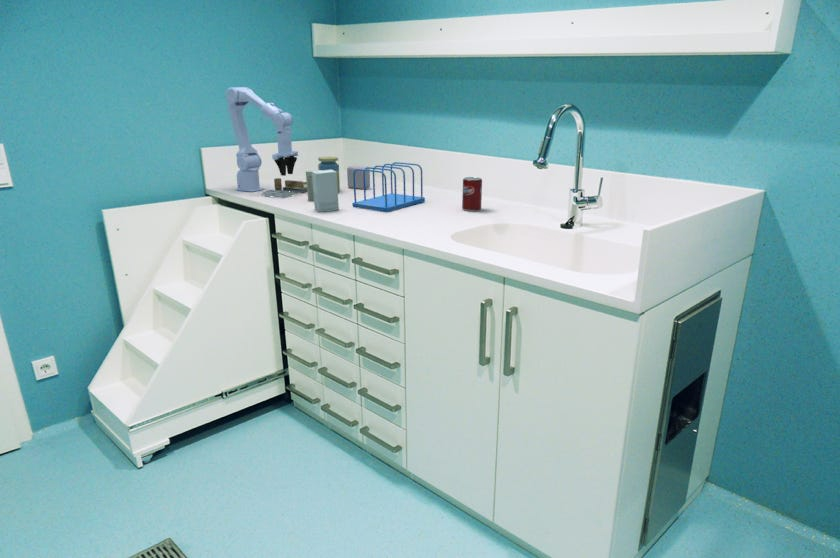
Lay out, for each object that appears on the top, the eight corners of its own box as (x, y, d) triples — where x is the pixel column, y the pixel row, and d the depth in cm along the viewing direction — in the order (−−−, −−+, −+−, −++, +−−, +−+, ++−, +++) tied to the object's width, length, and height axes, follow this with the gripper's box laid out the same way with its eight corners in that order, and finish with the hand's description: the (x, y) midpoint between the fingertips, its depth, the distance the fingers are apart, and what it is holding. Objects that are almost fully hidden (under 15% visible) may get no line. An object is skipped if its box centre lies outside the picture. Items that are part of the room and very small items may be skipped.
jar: (332, 189, 266) (331, 156, 261) (344, 192, 259) (342, 157, 254) (315, 191, 260) (313, 157, 255) (326, 194, 253) (324, 159, 249)
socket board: (261, 195, 251) (261, 191, 251) (271, 193, 257) (271, 189, 256) (283, 198, 246) (283, 194, 246) (293, 195, 252) (293, 191, 251)
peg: (273, 192, 258) (272, 179, 256) (278, 191, 260) (277, 178, 258) (279, 193, 256) (278, 179, 255) (283, 192, 259) (282, 178, 257)
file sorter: (391, 197, 248) (391, 161, 244) (425, 202, 239) (425, 164, 234) (352, 207, 229) (350, 167, 224) (386, 213, 220) (386, 171, 215)
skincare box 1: (325, 199, 243) (323, 169, 239) (322, 201, 239) (321, 171, 235) (310, 199, 244) (308, 169, 240) (307, 201, 240) (305, 171, 236)
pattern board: (282, 191, 261) (282, 187, 260) (309, 184, 277) (308, 181, 276) (303, 193, 256) (302, 189, 256) (328, 186, 272) (328, 182, 272)
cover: (285, 187, 260) (284, 180, 259) (298, 184, 268) (297, 177, 267) (301, 189, 257) (301, 182, 256) (314, 186, 264) (313, 179, 263)
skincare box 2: (334, 207, 228) (332, 169, 223) (339, 210, 223) (337, 171, 218) (313, 209, 224) (311, 170, 219) (318, 212, 219) (315, 172, 214)
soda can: (468, 212, 220) (469, 180, 216) (458, 208, 226) (459, 177, 222) (484, 210, 223) (486, 179, 219) (474, 207, 229) (475, 176, 225)
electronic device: (346, 188, 269) (345, 166, 266) (352, 186, 273) (352, 165, 270) (363, 190, 264) (363, 167, 261) (370, 188, 268) (369, 166, 265)
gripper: (280, 144, 239) (283, 177, 244) (302, 141, 252) (304, 173, 256) (267, 143, 242) (270, 176, 247) (289, 140, 255) (291, 172, 259)
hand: (286, 174), depth 252 cm, fingers open, 4 cm apart
